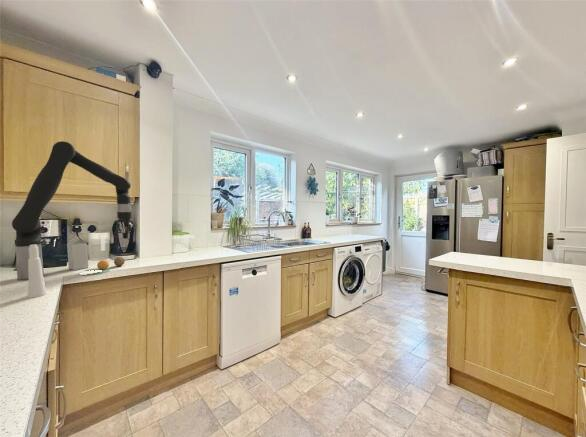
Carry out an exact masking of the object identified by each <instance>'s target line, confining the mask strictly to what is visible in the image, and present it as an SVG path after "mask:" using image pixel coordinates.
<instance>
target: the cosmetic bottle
mask: <svg viewBox="0 0 586 437" xmlns="http://www.w3.org/2000/svg"><path fill="white" fill-rule="evenodd" d="M29 246H30V247H29V257H30V259H28V275H29V279H28V287H27V288H28V289H27V296H26V297H27V298H30V299H31V298H37V297H42V296H45V295H47V294H48V292H47V287H46V284H45V279H44V275H43V272H42V265H41V259H40V258H39V253H38V247H37V245H36V244H35V245H29Z"/></svg>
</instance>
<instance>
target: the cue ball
mask: <svg viewBox="0 0 586 437" xmlns="http://www.w3.org/2000/svg"><path fill="white" fill-rule="evenodd" d="M125 262H126V260H125V258H124V257H122V256H117V257H115V258H114V260H113V263H114V265H115V266H117V267H121V266H123V265H124V264H125Z"/></svg>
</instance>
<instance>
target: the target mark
mask: <svg viewBox="0 0 586 437" xmlns="http://www.w3.org/2000/svg"><path fill="white" fill-rule="evenodd" d="M89 270H90V271H91V270H94V271H95V270H101V269H99V268H98V267H96V268H91V269H86V270H84V271H89ZM109 271H111V268H109V267H108V268H107V269H104V270H102V272H97V273H93V274H87V275H82V276H85V277H86V276H87V277H88V276H95V275H101V274H104V273H105V274H106V273H108V272H109Z"/></svg>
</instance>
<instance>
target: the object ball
mask: <svg viewBox="0 0 586 437" xmlns="http://www.w3.org/2000/svg"><path fill="white" fill-rule="evenodd" d="M109 267H110V263H109V261H107V260H105V259H102V260H100V261H98V262H97V265H96V268H99V269H101V270H104V269H107V268H109Z"/></svg>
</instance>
